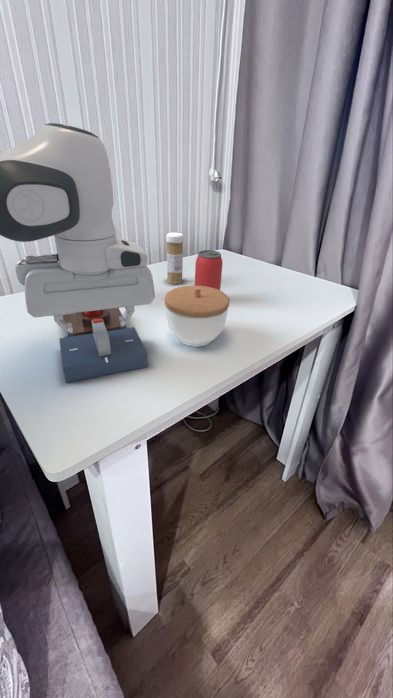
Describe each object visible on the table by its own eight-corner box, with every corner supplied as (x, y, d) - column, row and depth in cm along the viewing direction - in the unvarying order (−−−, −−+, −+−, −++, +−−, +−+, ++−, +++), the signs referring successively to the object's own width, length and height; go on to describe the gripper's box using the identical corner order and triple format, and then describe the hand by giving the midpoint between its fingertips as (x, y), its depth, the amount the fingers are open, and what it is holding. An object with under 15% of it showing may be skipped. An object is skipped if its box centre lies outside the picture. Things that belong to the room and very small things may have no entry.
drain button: (84, 318, 67) (83, 311, 66) (83, 311, 69) (81, 303, 68) (103, 316, 68) (102, 308, 67) (100, 309, 71) (99, 301, 70)
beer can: (223, 303, 84) (228, 256, 78) (199, 306, 82) (202, 258, 75) (213, 293, 89) (216, 248, 83) (190, 296, 87) (191, 250, 81)
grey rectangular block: (111, 354, 57) (108, 336, 55) (99, 356, 57) (96, 337, 55) (104, 335, 63) (102, 317, 61) (93, 336, 62) (91, 319, 60)
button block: (66, 344, 65) (63, 326, 63) (63, 323, 72) (60, 306, 70) (127, 334, 69) (126, 317, 67) (119, 316, 76) (117, 300, 74)
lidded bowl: (201, 318, 77) (203, 272, 71) (237, 342, 68) (244, 292, 62) (153, 333, 70) (152, 283, 64) (188, 361, 62) (189, 307, 56)
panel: (66, 385, 55) (62, 369, 53) (62, 350, 63) (59, 335, 61) (148, 369, 59) (148, 354, 58) (134, 338, 68) (133, 324, 66)
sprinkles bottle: (180, 278, 97) (181, 231, 90) (184, 284, 94) (185, 235, 86) (165, 279, 96) (164, 231, 89) (168, 285, 93) (167, 236, 85)
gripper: (11, 264, 45) (32, 349, 52) (157, 254, 52) (157, 331, 59) (13, 250, 50) (32, 330, 57) (146, 243, 57) (148, 315, 64)
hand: (97, 330), depth 58 cm, fingers open, 8 cm apart
